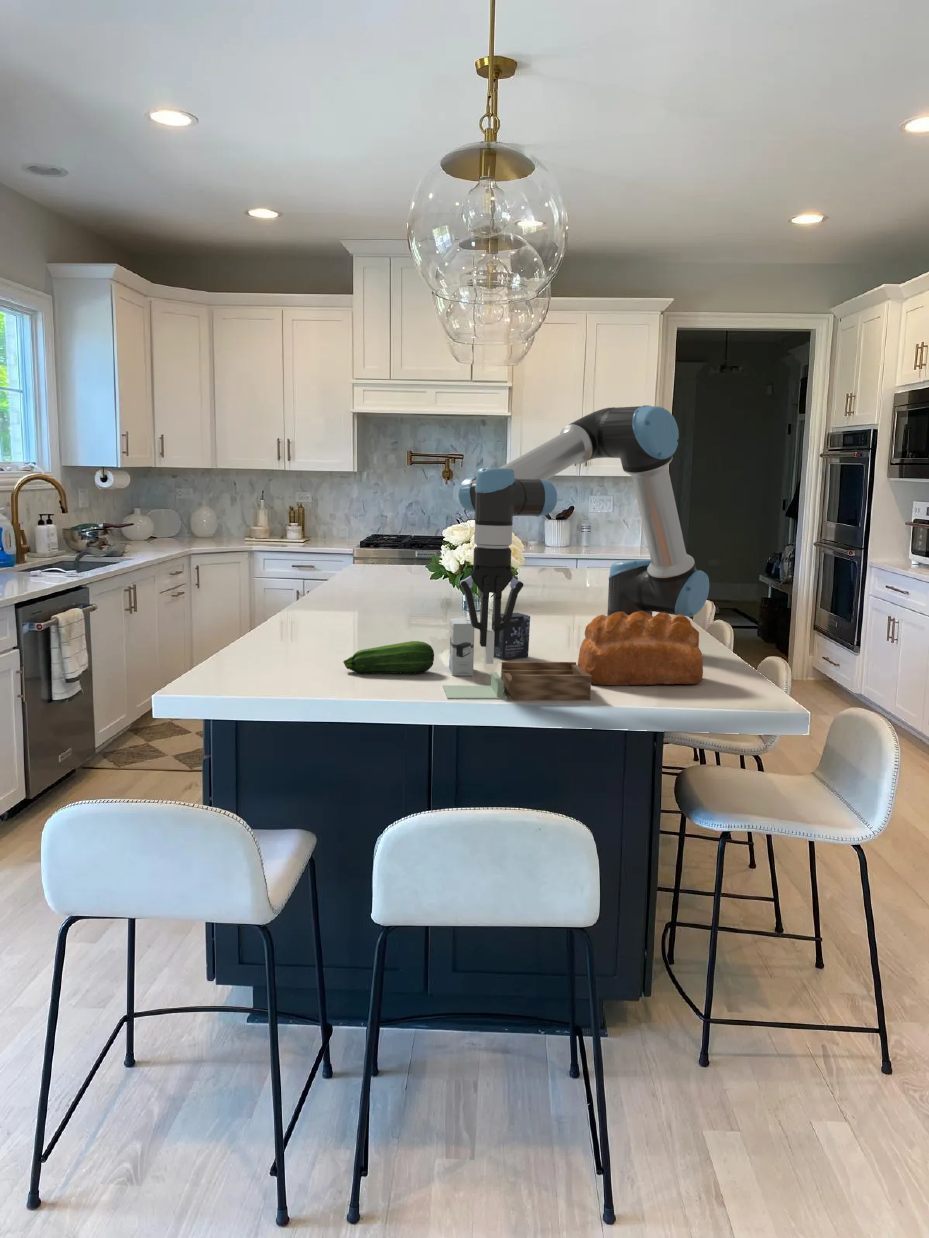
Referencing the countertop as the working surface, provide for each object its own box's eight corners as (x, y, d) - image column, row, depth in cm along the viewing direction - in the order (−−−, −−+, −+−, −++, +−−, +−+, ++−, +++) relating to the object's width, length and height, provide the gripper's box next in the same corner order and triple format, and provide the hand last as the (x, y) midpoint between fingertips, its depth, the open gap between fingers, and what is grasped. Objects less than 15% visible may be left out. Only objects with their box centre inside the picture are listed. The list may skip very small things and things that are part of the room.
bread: (707, 687, 195) (712, 616, 192) (588, 687, 191) (592, 615, 189) (683, 673, 208) (688, 607, 206) (572, 673, 205) (575, 606, 202)
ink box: (448, 667, 206) (450, 617, 204) (470, 668, 206) (471, 617, 205) (451, 676, 198) (452, 623, 196) (473, 676, 198) (475, 623, 196)
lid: (499, 689, 189) (500, 671, 188) (507, 701, 179) (508, 682, 178) (442, 689, 188) (443, 671, 187) (447, 701, 177) (447, 682, 177)
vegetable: (434, 637, 198) (342, 637, 195) (435, 668, 195) (342, 669, 193) (432, 646, 204) (343, 646, 202) (433, 677, 202) (343, 678, 200)
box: (503, 660, 216) (504, 617, 214) (489, 656, 221) (491, 613, 219) (529, 657, 220) (531, 615, 219) (515, 653, 225) (517, 611, 223)
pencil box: (574, 684, 193) (575, 661, 192) (590, 699, 180) (591, 675, 179) (500, 684, 191) (501, 661, 190) (511, 700, 178) (512, 675, 177)
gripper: (521, 545, 184) (516, 658, 187) (458, 544, 182) (454, 658, 186) (528, 548, 176) (523, 666, 180) (462, 547, 175) (459, 666, 178)
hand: (488, 662), depth 183 cm, fingers closed
